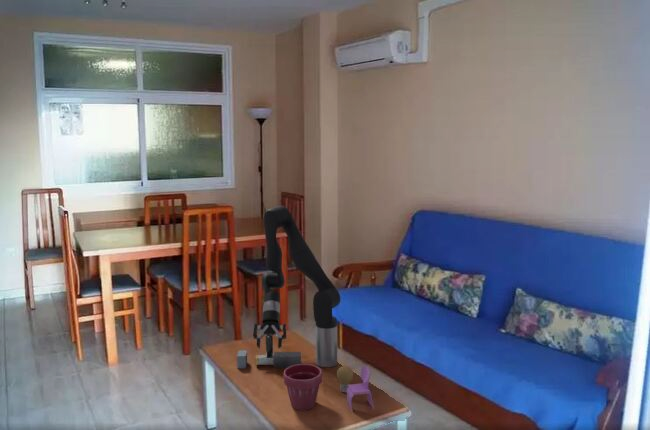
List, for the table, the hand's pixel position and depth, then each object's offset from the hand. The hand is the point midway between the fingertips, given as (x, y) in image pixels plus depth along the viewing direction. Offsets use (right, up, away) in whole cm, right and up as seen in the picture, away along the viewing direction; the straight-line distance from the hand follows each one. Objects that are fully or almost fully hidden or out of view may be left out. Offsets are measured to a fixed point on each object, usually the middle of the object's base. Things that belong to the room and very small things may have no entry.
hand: (269, 347), depth 236 cm
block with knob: (+3, -7, +2) cm, 8 cm away
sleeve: (+8, -8, +2) cm, 11 cm away
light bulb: (+32, -12, -22) cm, 40 cm away
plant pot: (+16, -13, -32) cm, 38 cm away
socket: (-12, -8, +2) cm, 15 cm away
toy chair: (+37, -14, -33) cm, 52 cm away
